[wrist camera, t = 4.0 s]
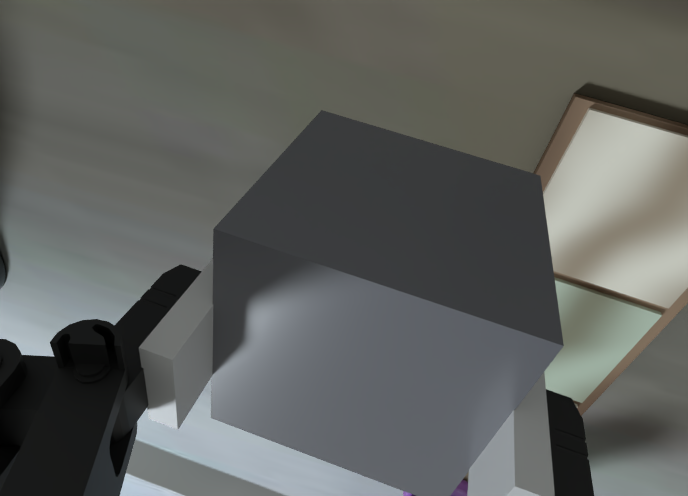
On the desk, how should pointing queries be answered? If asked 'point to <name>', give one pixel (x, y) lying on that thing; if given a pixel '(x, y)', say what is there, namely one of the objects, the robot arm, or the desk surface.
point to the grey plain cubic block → (382, 303)
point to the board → (613, 238)
